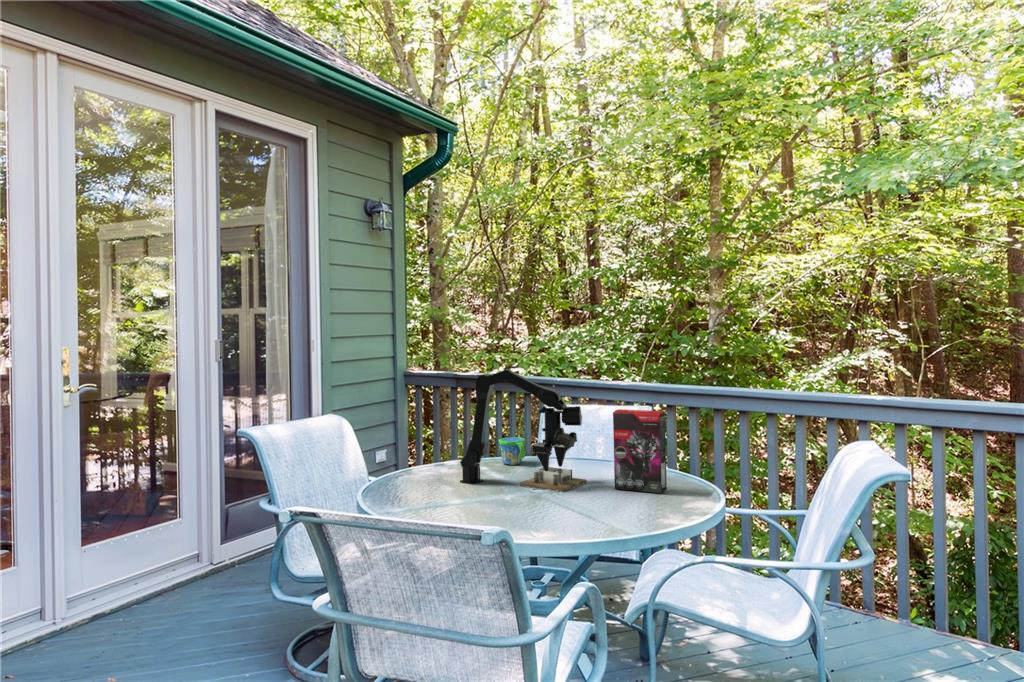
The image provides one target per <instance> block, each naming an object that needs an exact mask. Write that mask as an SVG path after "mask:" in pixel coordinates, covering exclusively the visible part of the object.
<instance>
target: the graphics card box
mask: <svg viewBox="0 0 1024 682" xmlns="http://www.w3.org/2000/svg"><path fill="white" fill-rule="evenodd" d="M612 424H613V426H612V427H613V429H612V430H613V431H612V432H613V462H614V463H613V466H614V467H613V469H614V472H613V474H614V490H619V489H620V490H621V491H622V490H623V491H633V492H634V491H635V492H645V493H653V494H655V493H656V494H657V493H658V494H662V493H663V492H665V491H667V488H668V487H667V485H668V483H667V455H666V454H667V453H666V451H667V450H666V412H665V410H645V409H644V410H642V409H615V410H614V411H613V412H612Z"/></svg>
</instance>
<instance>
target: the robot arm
mask: <svg viewBox="0 0 1024 682" xmlns="http://www.w3.org/2000/svg"><path fill="white" fill-rule="evenodd" d="M474 381H475V383H474V384H475V395H476V405H475V412H474V413H475V414H474V422H473V428H472V436H471V439H470V442H469V444H468V445H467V448H466V449H467V450H466V452H465V453H466V454H465V456H464V457H463V458H462V459H461V460H460V462H459V463H460V465H461V468H462V479H460V480H459V481H460V482H459V483H463V482H466V483H465V484H470V483H474V484H476V482H477V483H479V482H480V481H481V482H482V481H484V478H481V467H480V466H481V464H480V463H481V461H482V459H483V458H485V456H486V454H487V453H488V446H489V441H486V440H485V431H486V423H487V417H488V410H489V408H488V407H489V401H490V397H491V395H492V393H493V390H494V387H495V384H499V383H502V382H507V383H509V384H511V385H513V386H515V387H517V388H519V389H521V390H523V391H525V392H527V393H529V394H531V395H532V396H534V397H535V398H536V399H538V401H539V402H541V403H542V404H543V406H542V407H541V409H540V410H539V411H538V413H539V414H544V415H543V416H544V427H542V432H544V439H542V442H536V443H533V444H532V446H531V452H532V453H534V454H535V455H536V456H537V459H538V460H539V461H540V464H541V466H542V467H543V468H544V470H545V471H548V467H550V466H549V465H550V456H551V455H553V452H552V450H554V454H555V458H556V461H557V465H558V468H560V467H561V468H562V466H563V463H564V460H565V456H566V453H567V452H568V451H569V450H570V449H571V448H574V446H575V443H577V442H578V437H577V433H576V432H575V431H571V432H570V433H566V432H565V429H564V427H562V425H561V424H562V423H563V424H564V426H571V427H572V426H579V427H580V426H582V424H583V421H582V420H583V415H582V410H581V406H580V405H577V406H567V405H566V403H565V402H564V401H563V399H562V395H561V392H560V391H559V390H557V389H554V388H552V387H547V386H543V385H540V384H537V383H536V382H534V381H532V380H530V379H528V378H525V377H524V376H523V375H520V374H518V373H516V372H514V371H513V370H511V369H510V368H506V369H503V370H501V371H498V372H496V373H493V374H491V373H483V374H481V375H478V376H477V377H476V378H475V380H474ZM481 482H480V483H481Z"/></svg>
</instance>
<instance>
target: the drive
mask: <svg viewBox="0 0 1024 682" xmlns="http://www.w3.org/2000/svg"><path fill="white" fill-rule="evenodd" d="M569 469H570V468H569ZM569 469H568V468H562V467H561V468H560V467H553V466H549V467H548V471H545V470H544V468H543V466H542V467H539V468H537V469H534V472H539V481H540V482H547V483H553V475H555V474H556V475H558V484H564V483H566V482H569V481H571V470H572V469H571V470H569Z"/></svg>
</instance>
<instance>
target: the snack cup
mask: <svg viewBox="0 0 1024 682" xmlns="http://www.w3.org/2000/svg"><path fill="white" fill-rule="evenodd" d="M498 443H499V446H498V447H499V449H498V452H499V454H501V459H502V464H503V463H504V464H503V465H506V464H509V465H508V466H511V465H510V464H519V465H520V464H522V460H523V459H525V457H526V451H525V446H524V445H525V443H526V440H525V438H523V437H512V436H511V437H502V438H500V439H498Z"/></svg>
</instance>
